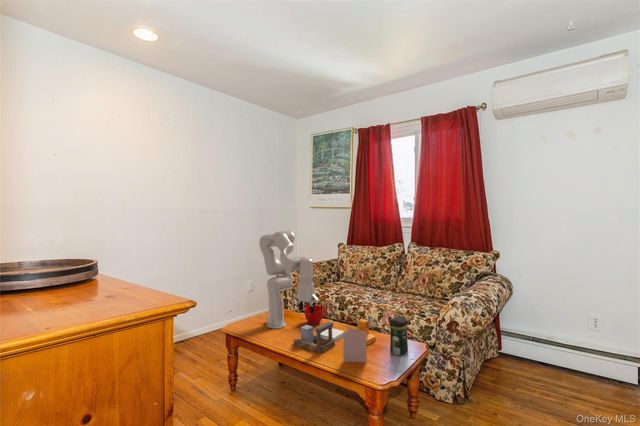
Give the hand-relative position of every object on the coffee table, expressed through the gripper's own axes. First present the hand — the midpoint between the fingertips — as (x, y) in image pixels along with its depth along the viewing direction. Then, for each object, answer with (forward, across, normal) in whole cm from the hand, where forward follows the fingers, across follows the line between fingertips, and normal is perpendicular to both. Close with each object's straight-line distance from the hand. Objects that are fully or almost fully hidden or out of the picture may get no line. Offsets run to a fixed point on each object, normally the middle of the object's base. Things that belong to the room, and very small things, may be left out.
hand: (306, 311), depth 181 cm
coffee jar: (+18, +47, +19) cm, 54 cm away
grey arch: (+15, +13, 0) cm, 19 cm away
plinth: (+18, +6, +15) cm, 24 cm away
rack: (+18, +5, 0) cm, 19 cm away
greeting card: (+18, +33, -3) cm, 38 cm away
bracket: (+18, +26, +21) cm, 38 cm away
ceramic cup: (+18, -16, +25) cm, 35 cm away
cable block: (+18, 0, 0) cm, 18 cm away
